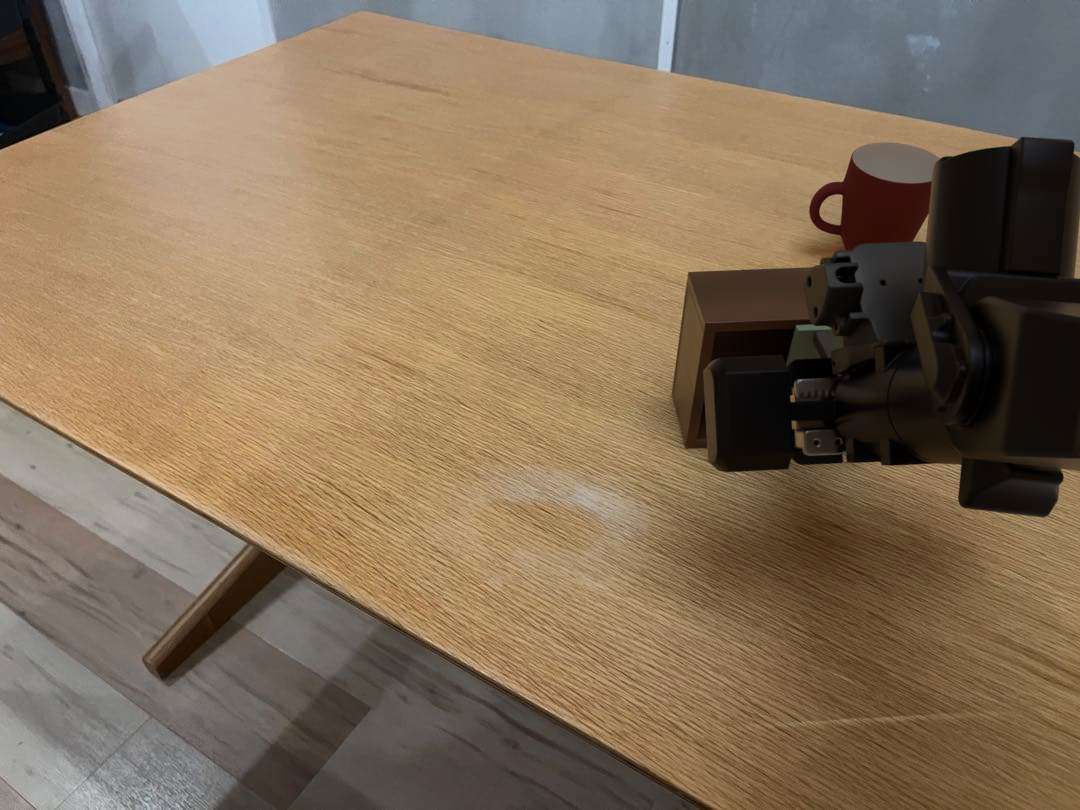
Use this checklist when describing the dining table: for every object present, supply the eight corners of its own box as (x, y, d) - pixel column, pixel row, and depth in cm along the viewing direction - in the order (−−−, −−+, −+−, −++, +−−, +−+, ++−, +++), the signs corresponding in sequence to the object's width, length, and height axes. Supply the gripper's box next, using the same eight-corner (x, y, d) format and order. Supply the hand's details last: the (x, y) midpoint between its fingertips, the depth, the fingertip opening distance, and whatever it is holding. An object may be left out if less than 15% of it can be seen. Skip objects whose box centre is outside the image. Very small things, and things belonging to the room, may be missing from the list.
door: (889, 496, 56) (939, 379, 49) (788, 501, 56) (823, 384, 49) (860, 436, 61) (901, 320, 53) (766, 440, 60) (795, 324, 53)
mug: (807, 280, 77) (831, 181, 70) (794, 234, 83) (815, 140, 76) (922, 283, 76) (958, 185, 69) (901, 238, 82) (932, 143, 75)
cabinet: (871, 440, 61) (918, 314, 53) (685, 448, 61) (705, 323, 53) (844, 387, 66) (884, 263, 58) (671, 394, 65) (687, 271, 57)
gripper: (1131, 222, 39) (953, 284, 54) (738, 236, 38) (672, 295, 53) (1149, 459, 38) (964, 453, 54) (751, 478, 37) (681, 466, 53)
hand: (820, 412), depth 53 cm, fingers closed on door, 2 cm apart
